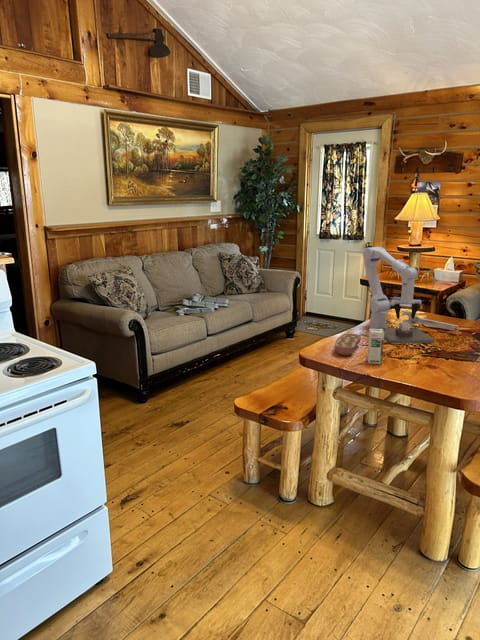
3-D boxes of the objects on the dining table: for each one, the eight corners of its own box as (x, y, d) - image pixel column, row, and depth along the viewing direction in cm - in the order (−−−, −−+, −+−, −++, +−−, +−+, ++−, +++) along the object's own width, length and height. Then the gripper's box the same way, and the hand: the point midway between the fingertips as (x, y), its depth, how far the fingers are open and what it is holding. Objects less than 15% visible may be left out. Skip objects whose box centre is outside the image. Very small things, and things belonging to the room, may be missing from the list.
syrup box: (368, 363, 210) (370, 331, 206) (367, 359, 216) (369, 327, 212) (382, 364, 210) (384, 332, 206) (380, 359, 215) (382, 328, 211)
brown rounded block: (352, 359, 216) (353, 348, 215) (330, 356, 220) (330, 345, 219) (362, 344, 237) (362, 334, 235) (341, 342, 241) (342, 332, 239)
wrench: (457, 336, 259) (399, 324, 270) (457, 335, 260) (399, 323, 271) (460, 322, 256) (402, 310, 267) (460, 321, 258) (402, 309, 269)
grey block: (398, 332, 250) (399, 322, 249) (406, 332, 251) (407, 322, 249) (401, 334, 246) (402, 324, 245) (409, 334, 247) (410, 324, 245)
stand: (375, 330, 259) (375, 324, 258) (415, 330, 260) (416, 323, 259) (390, 343, 238) (390, 336, 237) (434, 342, 239) (434, 335, 238)
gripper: (396, 293, 239) (394, 320, 242) (425, 293, 239) (422, 320, 243) (391, 290, 245) (389, 316, 249) (419, 290, 246) (416, 316, 250)
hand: (405, 318), depth 246 cm, fingers open, 7 cm apart
